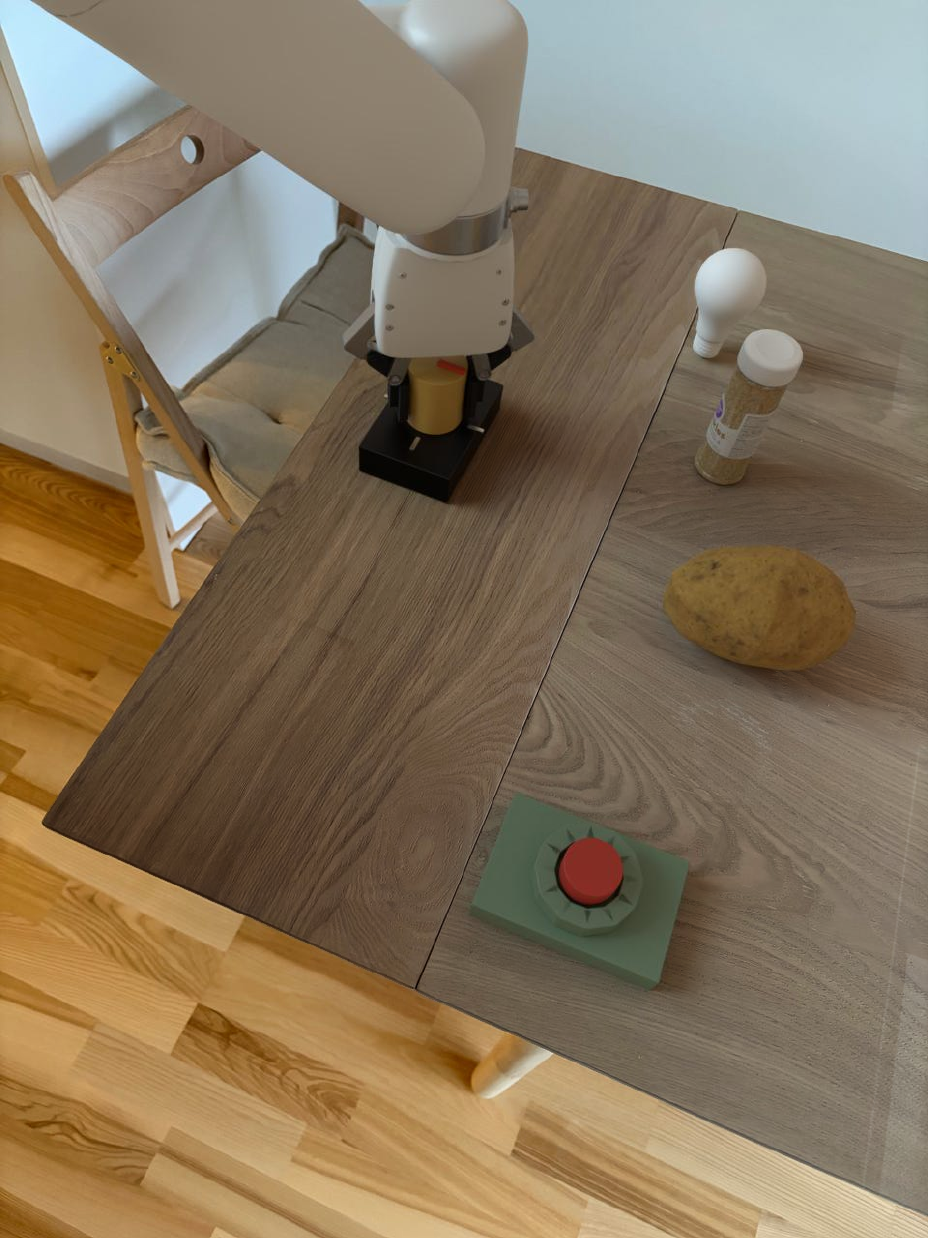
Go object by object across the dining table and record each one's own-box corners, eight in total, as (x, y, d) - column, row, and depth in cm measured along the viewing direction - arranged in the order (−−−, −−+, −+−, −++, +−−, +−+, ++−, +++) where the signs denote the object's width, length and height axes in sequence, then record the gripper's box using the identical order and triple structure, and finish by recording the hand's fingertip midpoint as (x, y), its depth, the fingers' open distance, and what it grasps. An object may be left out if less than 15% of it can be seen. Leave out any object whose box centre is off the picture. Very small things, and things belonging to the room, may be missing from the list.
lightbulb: (665, 365, 88) (699, 265, 79) (679, 325, 92) (714, 225, 82) (728, 384, 88) (770, 286, 78) (740, 344, 91) (782, 244, 82)
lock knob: (394, 421, 77) (396, 367, 73) (420, 385, 80) (423, 331, 75) (447, 442, 77) (452, 389, 72) (471, 405, 79) (478, 352, 74)
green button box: (468, 914, 59) (473, 896, 56) (510, 804, 63) (518, 780, 60) (649, 991, 58) (666, 976, 54) (681, 872, 62) (699, 852, 59)
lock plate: (452, 506, 77) (455, 480, 74) (353, 468, 78) (352, 442, 76) (504, 411, 83) (509, 384, 81) (412, 378, 85) (413, 351, 82)
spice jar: (686, 449, 83) (737, 327, 71) (735, 446, 83) (792, 324, 72) (702, 489, 80) (756, 369, 69) (752, 485, 81) (814, 366, 70)
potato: (705, 486, 68) (683, 577, 62) (883, 549, 67) (878, 647, 61) (662, 569, 76) (639, 657, 70) (821, 627, 75) (811, 720, 69)
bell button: (550, 891, 57) (555, 882, 55) (569, 838, 59) (574, 828, 57) (607, 914, 56) (613, 906, 55) (623, 860, 58) (630, 851, 57)
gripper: (561, 172, 66) (525, 370, 81) (315, 177, 63) (326, 381, 78) (586, 239, 62) (543, 434, 77) (325, 248, 59) (334, 448, 74)
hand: (434, 406), depth 77 cm, fingers closed on lock knob, 4 cm apart
